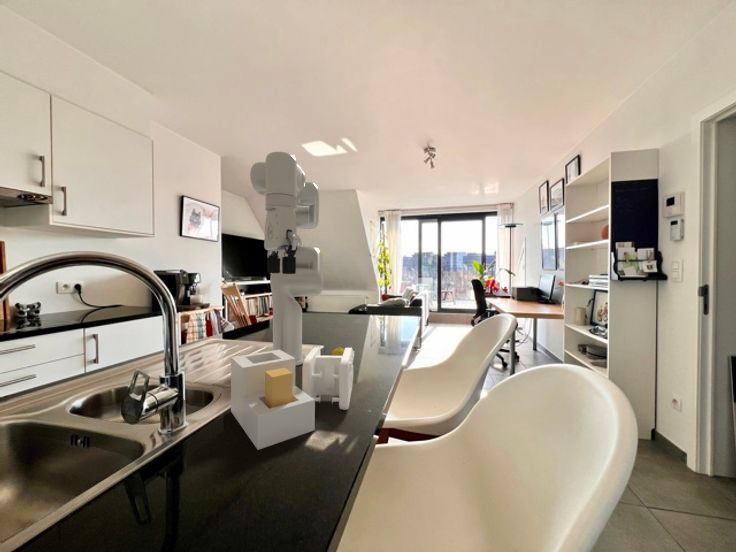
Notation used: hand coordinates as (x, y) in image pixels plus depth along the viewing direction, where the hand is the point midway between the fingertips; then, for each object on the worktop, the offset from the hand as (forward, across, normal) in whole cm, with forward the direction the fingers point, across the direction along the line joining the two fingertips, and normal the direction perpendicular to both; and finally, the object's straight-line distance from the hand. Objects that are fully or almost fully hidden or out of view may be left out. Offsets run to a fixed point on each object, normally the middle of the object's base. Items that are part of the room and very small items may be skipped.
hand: (281, 273), depth 77 cm
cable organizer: (+31, +11, +8) cm, 33 cm away
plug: (+27, +17, -7) cm, 32 cm away
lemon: (+31, -4, +20) cm, 37 cm away
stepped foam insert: (+30, +12, -7) cm, 33 cm away
